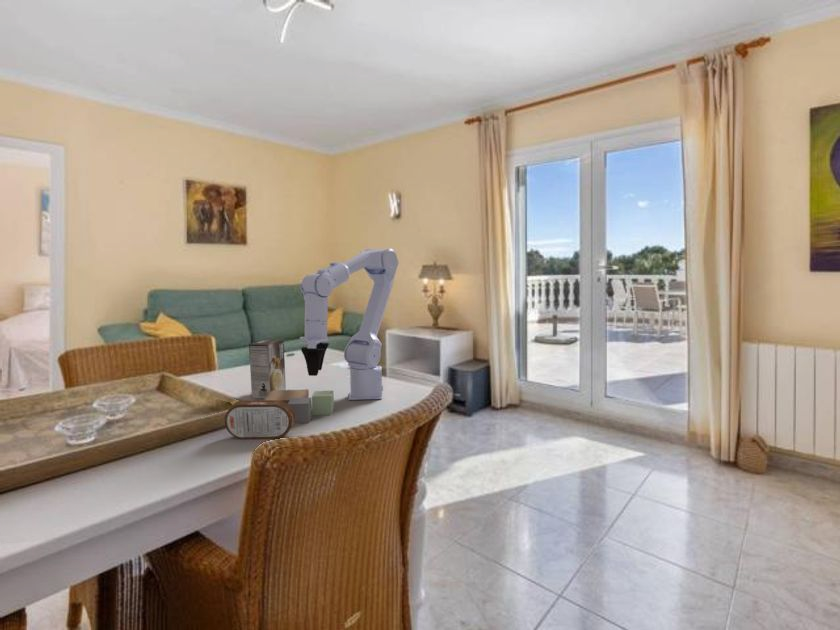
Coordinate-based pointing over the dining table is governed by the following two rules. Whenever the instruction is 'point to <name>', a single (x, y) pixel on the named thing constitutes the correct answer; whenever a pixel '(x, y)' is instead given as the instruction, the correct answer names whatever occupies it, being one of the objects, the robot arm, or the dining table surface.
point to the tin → (259, 419)
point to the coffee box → (267, 367)
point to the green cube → (322, 402)
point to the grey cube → (301, 409)
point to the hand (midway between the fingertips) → (315, 372)
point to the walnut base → (287, 395)
